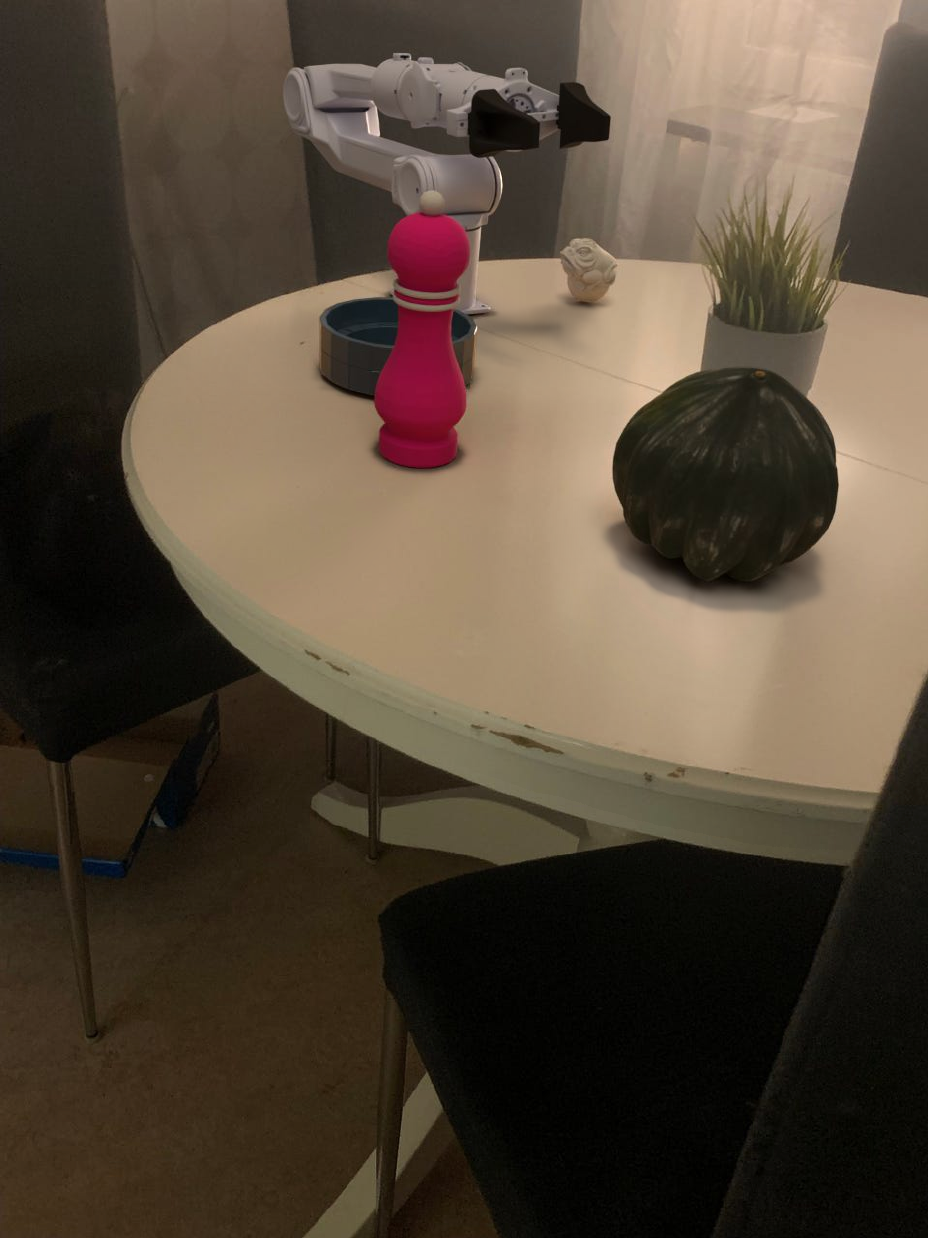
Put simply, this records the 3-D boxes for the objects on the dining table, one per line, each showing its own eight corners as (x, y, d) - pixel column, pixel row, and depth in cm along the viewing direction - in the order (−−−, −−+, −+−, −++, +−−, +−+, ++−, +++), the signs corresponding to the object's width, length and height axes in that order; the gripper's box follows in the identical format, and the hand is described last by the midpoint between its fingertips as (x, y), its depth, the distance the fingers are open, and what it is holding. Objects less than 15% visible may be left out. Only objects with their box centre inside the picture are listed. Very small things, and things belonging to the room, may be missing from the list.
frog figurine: (546, 293, 126) (553, 232, 122) (601, 292, 128) (609, 231, 124) (565, 310, 121) (573, 246, 117) (622, 308, 123) (632, 246, 119)
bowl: (296, 356, 103) (295, 304, 100) (428, 341, 109) (431, 291, 106) (358, 412, 93) (360, 355, 90) (500, 392, 99) (505, 339, 96)
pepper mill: (452, 477, 83) (472, 207, 72) (361, 463, 84) (368, 194, 73) (470, 440, 89) (492, 186, 78) (385, 427, 90) (395, 174, 79)
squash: (699, 411, 84) (664, 292, 71) (882, 482, 77) (881, 364, 64) (603, 561, 82) (549, 468, 69) (781, 648, 75) (759, 562, 62)
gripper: (421, 66, 98) (504, 86, 89) (550, 57, 105) (641, 75, 95) (422, 149, 102) (502, 177, 93) (546, 136, 109) (633, 160, 99)
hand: (572, 131), depth 94 cm, fingers open, 7 cm apart
